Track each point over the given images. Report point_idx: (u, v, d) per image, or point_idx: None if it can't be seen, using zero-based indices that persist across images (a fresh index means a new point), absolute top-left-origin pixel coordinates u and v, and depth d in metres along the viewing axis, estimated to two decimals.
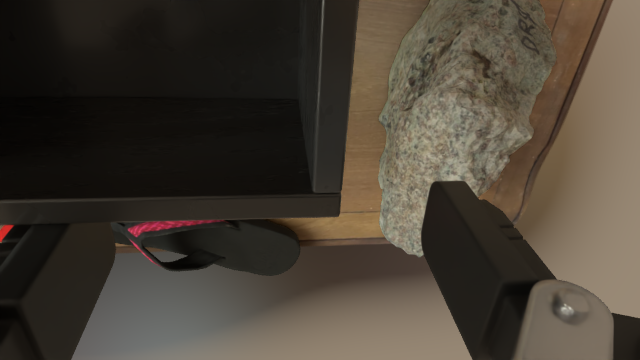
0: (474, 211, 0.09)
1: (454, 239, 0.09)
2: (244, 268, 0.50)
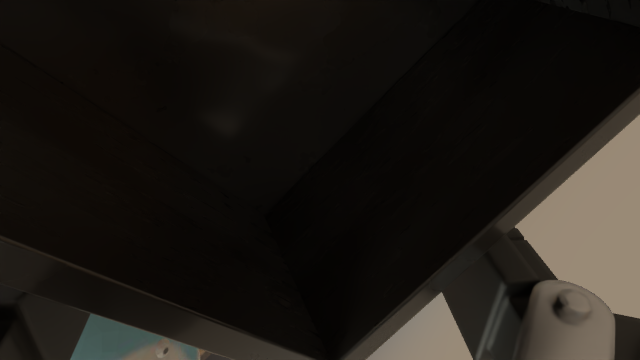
0: None
1: None
2: None
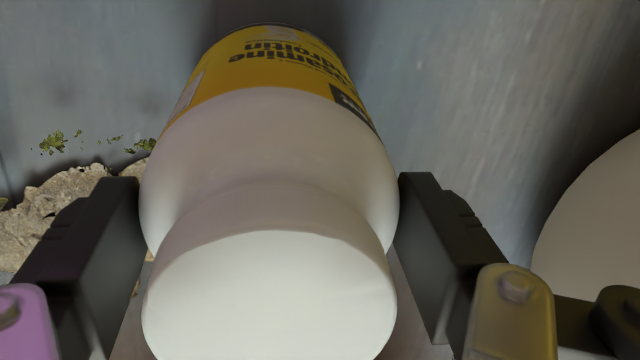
0: (435, 200, 0.10)
1: (417, 227, 0.10)
2: None
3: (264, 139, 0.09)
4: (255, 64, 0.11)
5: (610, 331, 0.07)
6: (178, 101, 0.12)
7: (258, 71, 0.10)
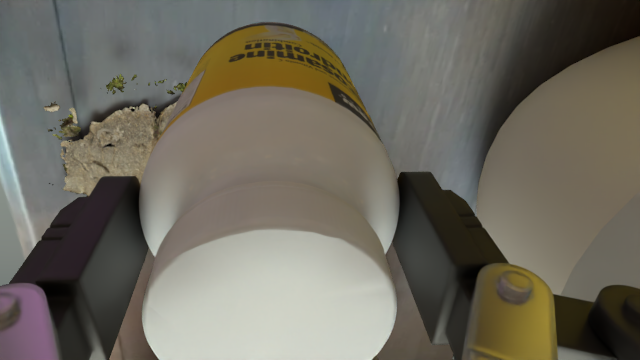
0: (435, 200, 0.10)
1: (416, 227, 0.10)
2: None
3: (264, 139, 0.09)
4: (255, 64, 0.11)
5: (610, 331, 0.07)
6: (178, 101, 0.12)
7: (258, 70, 0.10)
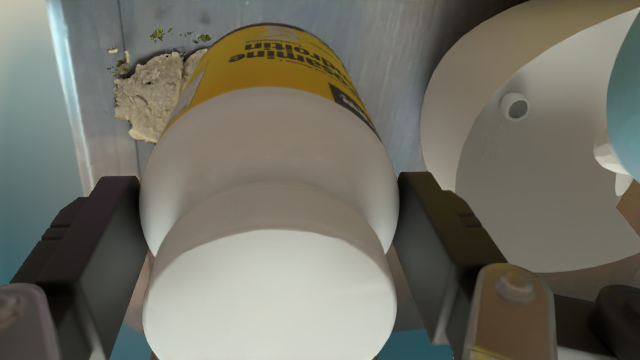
0: (435, 200, 0.10)
1: (416, 227, 0.10)
2: None
3: (264, 139, 0.09)
4: (255, 64, 0.11)
5: (610, 331, 0.07)
6: (178, 101, 0.12)
7: (257, 70, 0.10)
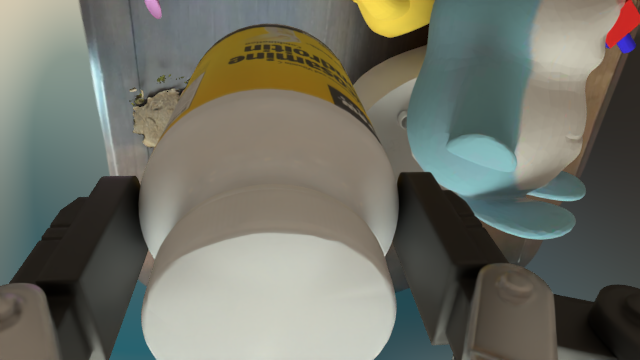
0: (435, 200, 0.10)
1: (416, 227, 0.10)
2: None
3: (263, 141, 0.09)
4: (254, 66, 0.11)
5: (610, 331, 0.07)
6: (178, 103, 0.12)
7: (257, 73, 0.10)
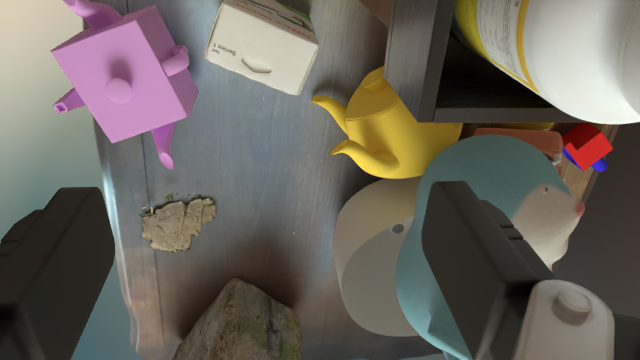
0: (475, 211, 0.09)
1: (455, 239, 0.09)
2: None
3: None
4: None
5: None
6: None
7: None
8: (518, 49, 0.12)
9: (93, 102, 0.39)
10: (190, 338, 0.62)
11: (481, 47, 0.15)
